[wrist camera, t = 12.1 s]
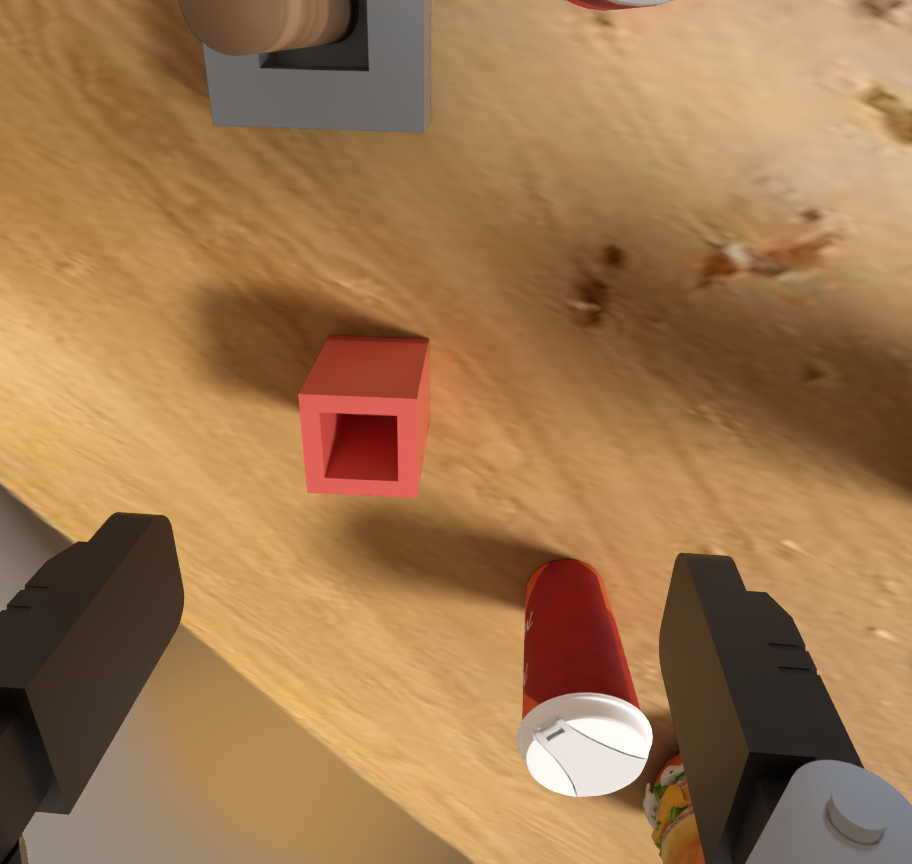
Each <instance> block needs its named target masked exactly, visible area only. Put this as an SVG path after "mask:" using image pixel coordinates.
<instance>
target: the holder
mask: <svg viewBox="0 0 912 864" xmlns="http://www.w3.org/2000/svg"><path fill="white" fill-rule="evenodd" d="M358 4H359V18H358V22H357V25H356V27H355V29H354V31H353V32H352V34H351V35H350V36H349V37H348V38H346V39H345V40H343V41H342V42H339V43H335V44H328V45H321V46H313V47H305V48H297V49H290V50H282V51H274V52H266V53H258V54H251V55H243V56H230V55H225V54H221V53H219V52H216V51H214V50H212V49H211V48H209V47H208V46H206V45H205V44H204V43H202V44H203V51H204V59H205V67H206V74H207V82H208V90H209V97H210V105H211V113H212V120H213V126H234V127H266V128H298V129H330V130H362V131H394V132H424V131H425V130H426V128H427V127H428V125H429V124H430V100H431V0H358Z"/></svg>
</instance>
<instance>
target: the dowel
mask: <svg viewBox="0 0 912 864" xmlns="http://www.w3.org/2000/svg"><path fill="white" fill-rule="evenodd" d="M179 4H180V8H181V11H182V14H183V16H184V18H185V21H186V22H187V24H188V26H189V28H190V29H191V30H192V32H193V33H194V34H195V36H196V37H197V38H198V39H199V40H200V41H201V42H202V43H204V44H205V45H206V46H208V47H209V48H211V49H212V50H214V51H216V52H219V53H221V54H225V55H230V56H243V55H251V54H258V53H266V52H274V51H282V50H290V49H297V48H305V47H313V46H321V45H328V44H335V43H339V42H342V41H343V40H345V39H346V38H348V37H349V36H350V35H351V34H352V32H353V31H354V29H355V27H356V25H357V22H358V18H359V4H358V0H179Z"/></svg>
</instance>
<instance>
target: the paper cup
mask: <svg viewBox="0 0 912 864" xmlns="http://www.w3.org/2000/svg"><path fill="white" fill-rule="evenodd" d="M652 738H653V735H652V729H651V726H650V724H649V721H648V720H647V718H646V717H645V715H644V714H643V713H642V712H641V710H640V707H639V703H638V700H637V696H636V693H635V689H634V685H633V682H632V678H631V675H630V671H629V668H628V664H627V661H626V657H625V654H624V650H623V647H622V643H621V640H620V636H619V633H618V629H617V626H616V622H615V619H614V615H613V612H612V609H611V605H610V602H609V599H608V595H607V592H606V589H605V586H604V583H603V581H602V579H601V577H600V575H599V574H598V572H597V571H596V570H595V569H594V568H592V567H591V566H589V565H588V564H586V563H583V562H580V561H576V560H569V559H565V560H556V561H552V562H549V563H547V564H545V565H543V566H541V567H540V568H538V569H537V570H536V571H535V572H534V573H533V574H532V576H531V577H530V579H529V582H528V585H527V592H526V608H525V638H524V674H523V714H522V722H521V723H520V726H519V728H518V731H517V746H518V750H519V752H520V754H521V756H522V758H523V759H524V761H525V763H526V766H527V768H528V770H529V772H530V773H531V775H532V776H533V777H534V778H535V780H537V781H538V782H539V783H540V784H541V785H543V786H545V787H546V788H548V789H550V790H552V791H554V792H557V793H560V794H564V795H569V796H577V797H579V796H599V795H604V794H609V793H612V792H615V791H617V790H619V789H621V788H624V787H625V786H627V785H629V784H630V783H632V782H633V781H634V780H635V779H636V778H637V777H638V776H639V775H640V774H641V772H642V770H643V768H644V766H645V763H646V761H647V758H648V753H649V751H650V748H651V745H652Z"/></svg>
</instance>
